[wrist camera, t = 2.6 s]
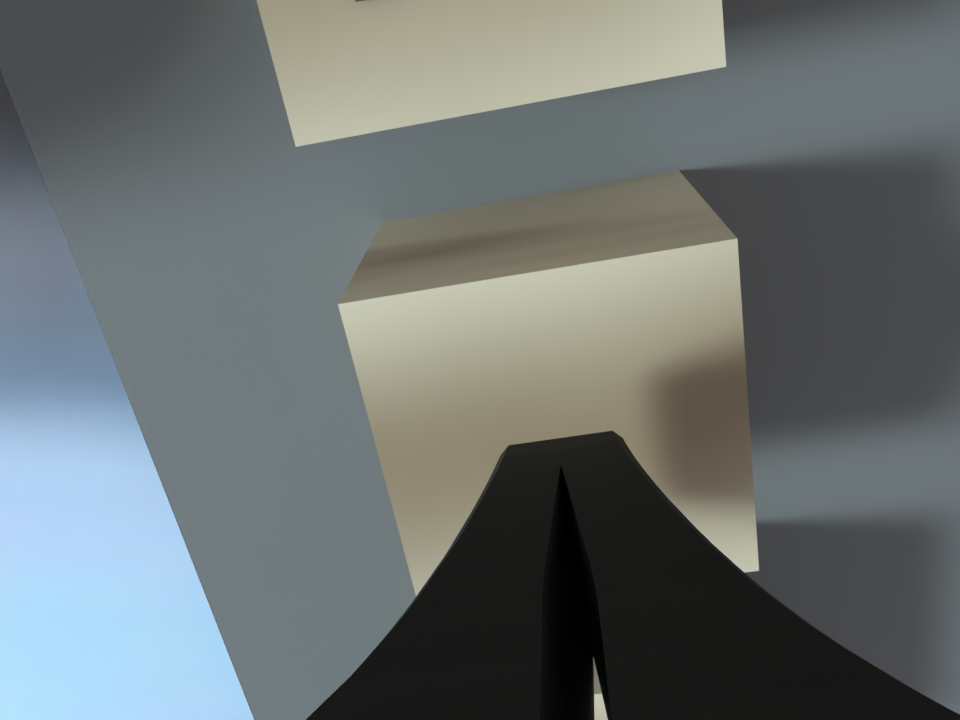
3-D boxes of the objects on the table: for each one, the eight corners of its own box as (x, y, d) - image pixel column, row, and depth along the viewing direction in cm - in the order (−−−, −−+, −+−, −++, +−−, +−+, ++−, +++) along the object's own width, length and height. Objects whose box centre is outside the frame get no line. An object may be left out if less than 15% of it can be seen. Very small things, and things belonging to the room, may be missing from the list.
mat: (975, 716, 19) (986, 734, 19) (292, 786, 21) (287, 804, 20) (1061, -603, 10) (1086, -630, 10) (-123, -297, 12) (-148, -307, 12)
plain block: (703, 434, 16) (759, 570, 12) (441, 471, 16) (420, 612, 13) (678, 170, 14) (737, 238, 10) (382, 221, 14) (338, 304, 11)
